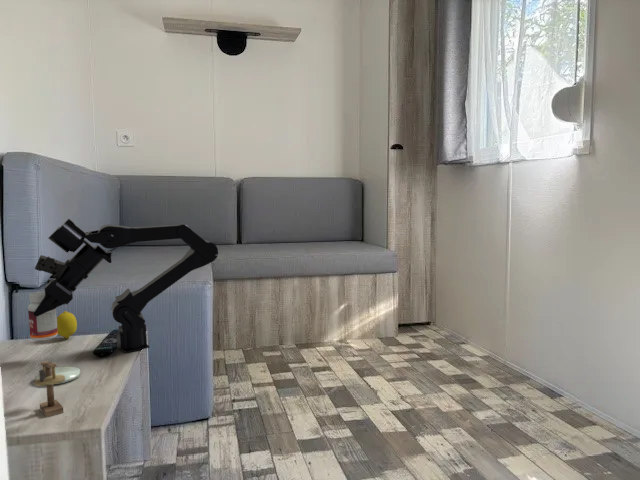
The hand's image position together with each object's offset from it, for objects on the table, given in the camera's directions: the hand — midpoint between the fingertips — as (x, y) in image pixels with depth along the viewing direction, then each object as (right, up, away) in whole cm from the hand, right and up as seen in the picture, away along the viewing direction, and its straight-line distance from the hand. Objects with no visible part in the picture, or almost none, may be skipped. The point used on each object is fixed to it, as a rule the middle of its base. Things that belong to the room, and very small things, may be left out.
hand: (36, 312), depth 128 cm
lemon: (-2, -10, +19) cm, 22 cm away
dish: (+11, -14, -11) cm, 20 cm away
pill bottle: (+1, -7, +1) cm, 7 cm away
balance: (+18, -15, -27) cm, 36 cm away
